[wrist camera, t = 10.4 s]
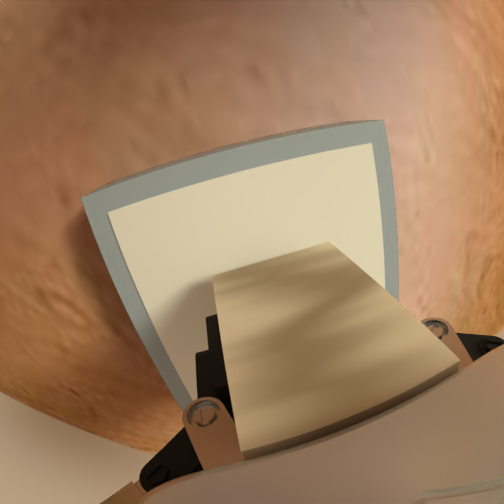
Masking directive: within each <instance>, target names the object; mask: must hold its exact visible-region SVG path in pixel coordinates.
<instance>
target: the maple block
mask: <svg viewBox="0 0 504 504" xmlns="http://www.w3.org/2000/svg"><path fill="white" fill-rule="evenodd" d="M212 281H213V288H214V295H215V302H216V309H217V316H218V323H219V330H220V336H221V343H222V349H223V355H224V362H225V368H226V374H227V380H228V386H229V391H230V397H231V403H232V408H233V414H234V419H235V425H236V430H237V435H238V440H239V446H240V451H241V453H242V454H243V456H244V458H245V460H250V459H254V458H257V457H261V456H265V455H268V454H272V453H275V452H279V451H282V450H286V449H289V448H292V447H295V446H298V445H301V444H304V443H307V442H310V441H313V440H316V439H319V438H322V437H324V436H327V435H330V434H332V433H335V432H338V431H340V430H343V429H345V428H348V427H350V426H353V425H355V424H357V423H360V422H362V421H364V420H367V419H369V418H371V417H373V416H376V415H378V414H380V413H382V412H384V411H386V410H389V409H391V408H393V407H395V406H397V405H399V404H401V403H403V402H405V401H407V400H409V399H411V398H412V397H414V396H416V395H418V394H420V393H422V392H424V391H426V390H427V389H429V388H431V387H433V386H434V385H436V384H438V383H440V382H441V381H443V380H445V379H446V378H448V377H450V376H451V375H453V374H455V373H456V372H457V371H458V367H459V364H460V359H459V358H458V357H457V356H456V355H455V354H454V353H453V352H452V351H451V350H450V349H449V348H448V347H447V346H446V345H445V344H444V343H443V342H442V341H441V340H440V339H438V338H437V337H436V336H435V335H434V334H433V333H432V332H431V331H430V330H429V329H428V328H427V327H426V326H425V325H424V324H423V323H422V322H420V321H419V320H418V319H417V318H416V317H415V316H414V315H413V314H412V313H411V312H410V311H409V310H407V309H406V308H405V307H404V306H403V305H402V304H401V303H400V302H399V301H398V300H396V299H395V298H394V297H393V296H392V295H391V294H390V293H389V292H387V291H386V290H385V289H384V288H383V287H382V286H381V285H380V284H378V283H377V282H376V281H375V280H374V279H373V278H372V277H370V276H369V275H368V274H367V273H366V272H365V271H363V270H362V269H361V268H360V267H359V266H358V265H357V264H355V263H354V262H353V261H352V260H351V259H349V258H348V257H347V256H346V255H345V254H344V253H342V252H341V251H340V250H339V249H338V248H336V247H335V246H334V245H333V244H332V243H330V242H329V241H328V242H325V243H322V244H318V245H315V246H312V247H308V248H305V249H302V250H298V251H295V252H292V253H288V254H285V255H281V256H278V257H275V258H271V259H268V260H264V261H261V262H258V263H254V264H251V265H247V266H244V267H240V268H237V269H234V270H230V271H227V272H223V273H220V274H216V275H213V276H212Z"/></svg>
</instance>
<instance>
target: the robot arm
mask: <svg viewBox="0 0 504 504" xmlns="http://www.w3.org/2000/svg"><path fill="white" fill-rule="evenodd" d="M420 322H422V323H423V324H424V325H425V326H426V327H427V328H428V329H429V330H430V331H431V332H432V333H433V334H434V335H435V336H436V337H437V338H438V339H440V340H441V341H442V342H443V343H444V344H445V345H446V346H447V347H448V348H449V349H450V350H451V351H452V352H453V353H454V354H455V355H456V356H457V357H458V358H459V359H460V364H459V367H458V371H457V372H456V373H455V374H453V375H451V376H450V377H448V378H446V379H445V380H443V381H441V382H440V383H438V384H436V385H434V386H433V387H431V388H429V389H427V390H426V391H424V392H422V393H420V394H418V395H416V396H414V397H412V398H411V399H409V400H407V401H405V402H403V403H401V404H399V405H397V406H395V407H393V408H391V409H389V410H386V411H384V412H382V413H380V414H378V415H376V416H373V417H371V418H369V419H367V420H364V421H362V422H360V423H357V424H355V425H353V426H350V427H348V428H345V429H343V430H340V431H338V432H335V433H332V434H330V435H327V436H324V437H322V438H319V439H316V440H313V441H310V442H307V443H304V444H301V445H298V446H295V447H292V448H289V449H286V450H282V451H279V452H275V453H272V454H268V455H265V456H261V457H257V458H254V459H250V460H245V458H244V456H243V454H242V453H241V451H240V446H239V440H238V435H237V430H236V425H235V419H234V414H233V408H232V403H231V397H230V391H229V386H228V380H227V374H226V368H225V362H224V355H223V349H222V343H221V336H220V330H219V323H218V316H217V314H215V315H211V316H208V317H206V328H207V339H208V350H205V351H201V352H197V353H196V354H195V362H196V382H197V399H196V400H194V401H192V402H191V403H190V404H189V405H188V406H186V408H185V409H184V411H183V414H182V420H183V424H184V426H185V427H184V428H183V429H182V430H181V431H180V432H179V433H178V434H177V435H176V436H175V437H174V438H173V439H172V440H171V441H170V442H169V443H168V444H167V445H166V446H165V447H164V448H163V449H162V450H160V451H159V452H158V453H157V454H156V455H155V456H154V457H153V458H152V459H151V460H150V461H149V462H148V463H147V464H146V465H145V466H144V467H143V469H142V470H141V473H140V477H139V480H138V481H137V482H135V483H133V482H132V481H131V482H130V483H129V484H127V485H126V486H125V487H123V488H122V489H120V490H119V491H118V492H116V493H115V494H113V495H112V496H110V497H109V498H108V499H106V500H105V501H103V502H102V503H100V504H504V340H503V339H501V338H499V337H496V336H487V335H475V334H463V333H456V332H455V331H454V329H453V328H452V326H451V325H450V324H449V323H448V322H447V321H446V320H444V319H441V318H435V317H432V318H426V319H424V320H422V321H420Z"/></svg>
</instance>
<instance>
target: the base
mask: <svg viewBox="0 0 504 504" xmlns="http://www.w3.org/2000/svg"><path fill="white" fill-rule="evenodd" d="M81 200H82V203H83V206H84V208H85V211H86V214H87V217H88V220H89V223H90V225H91V228H92V231H93V233H94V236H95V239H96V241H97V244H98V246H99V249H100V251H101V254H102V256H103V259H104V261H105V264H106V266H107V268H108V271H109V273H110V275H111V278H112V280H113V282H114V285H115V287H116V289H117V291H118V294H119V296H120V298H121V300H122V302H123V304H124V306H125V308H126V311H127V313H128V315H129V317H130V319H131V321H132V323H133V325H134V327H135V329H136V331H137V333H138V335H139V337H140V339H141V340H142V342H143V344H144V346H145V348H146V350H147V352H148V354H149V355H150V357H151V359H152V361H153V363H154V365H155V366H156V368H157V370H158V372H159V373H160V375H161V377H162V379H163V380H164V382H165V384H166V385H167V387H168V389H169V390H170V392H171V394H172V395H173V397H174V399H175V400H176V402H177V403H178V405H179V407H180V408H181V410H182V411H184V409H185V408H186V406H188V405H189V404H190V403H191V402H192V401H194V400H196V399H197V382H196V362H195V354H196V353H197V352H201V351H205V350H208V339H207V328H206V317H208V316H211V315H215V314H217V309H216V302H215V295H214V288H213V281H212V276H213V275H216V274H220V273H223V272H227V271H230V270H234V269H237V268H240V267H244V266H247V265H251V264H254V263H258V262H261V261H264V260H268V259H271V258H275V257H278V256H281V255H285V254H288V253H292V252H295V251H298V250H302V249H305V248H308V247H312V246H315V245H318V244H322V243H325V242H328V241H329V242H330V243H332V244H333V245H334V246H335V247H336V248H338V249H339V250H340V251H341V252H342V253H344V254H345V255H346V256H347V257H348V258H349V259H351V260H352V261H353V262H354V263H355V264H357V265H358V266H359V267H360V268H361V269H362V270H363V271H365V272H366V273H367V274H368V275H369V276H370V277H372V278H373V279H374V280H375V281H376V282H377V283H378V284H380V285H381V286H382V287H383V288H384V289H385V290H386V291H387V292H389V293H390V294H391V295H392V296H393V297H394V298H395V299H396V300H398V301H399V264H398V236H397V219H396V206H395V195H394V185H393V176H392V168H391V160H390V153H389V146H388V140H387V134H386V128H385V122H384V120H366V121H347V122H340V123H334V124H328V125H322V126H316V127H311V128H305V129H300V130H295V131H290V132H285V133H280V134H276V135H271V136H266V137H262V138H258V139H253V140H249V141H245V142H241V143H237V144H233V145H229V146H225V147H221V148H217V149H214V150H210V151H206V152H203V153H199V154H196V155H192V156H189V157H185V158H182V159H179V160H176V161H172V162H169V163H166V164H163V165H160V166H156V167H153V168H150V169H147V170H144V171H141V172H138V173H136V174H133V175H130V176H127V177H124V178H121V179H119V180H116V181H113V182H110V183H108V184H105V185H103V186H101V187H100V188H98V189H96V190H94V191H92V192H90V193H89V194H87V195H85V196H83V197H82V198H81Z"/></svg>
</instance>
